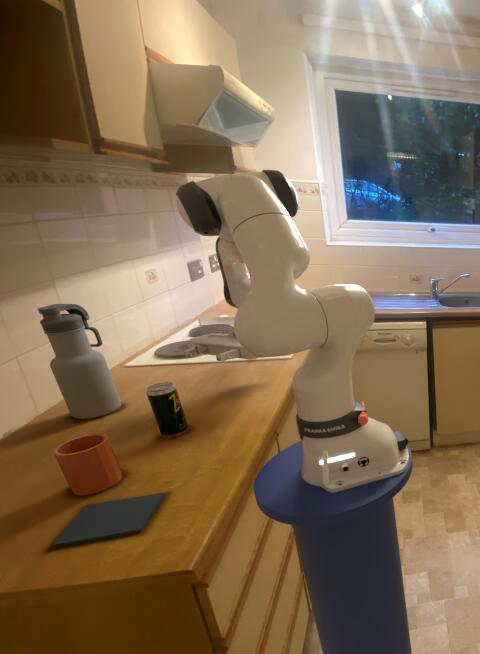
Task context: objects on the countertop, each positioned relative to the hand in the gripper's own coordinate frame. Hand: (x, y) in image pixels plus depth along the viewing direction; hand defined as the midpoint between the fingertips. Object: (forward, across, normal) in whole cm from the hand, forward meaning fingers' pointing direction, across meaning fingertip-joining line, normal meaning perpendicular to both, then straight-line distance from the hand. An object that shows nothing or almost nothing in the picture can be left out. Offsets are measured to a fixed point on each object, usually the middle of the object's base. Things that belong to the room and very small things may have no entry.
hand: (202, 356), depth 108 cm
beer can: (+12, 0, +15) cm, 19 cm away
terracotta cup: (+31, +3, +15) cm, 35 cm away
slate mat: (+38, +17, +14) cm, 44 cm away
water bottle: (+8, -29, +15) cm, 34 cm away
